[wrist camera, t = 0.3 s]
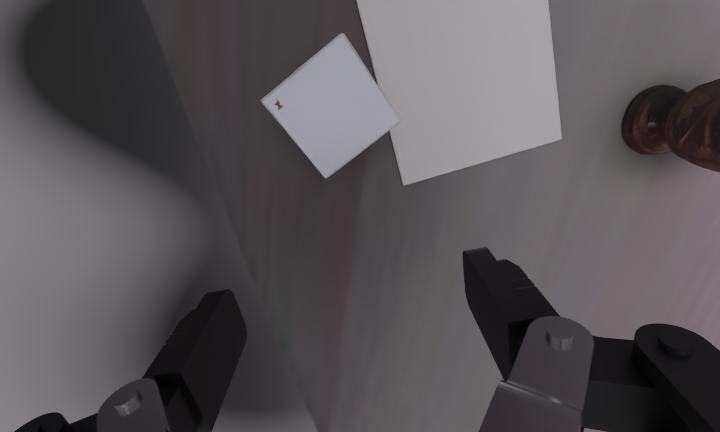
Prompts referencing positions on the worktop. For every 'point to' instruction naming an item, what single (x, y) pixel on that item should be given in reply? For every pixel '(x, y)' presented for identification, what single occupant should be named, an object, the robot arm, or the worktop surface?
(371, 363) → the worktop surface
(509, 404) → the robot arm
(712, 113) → the mortar and pestle
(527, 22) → the mat
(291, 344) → the worktop surface
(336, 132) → the supplement box
